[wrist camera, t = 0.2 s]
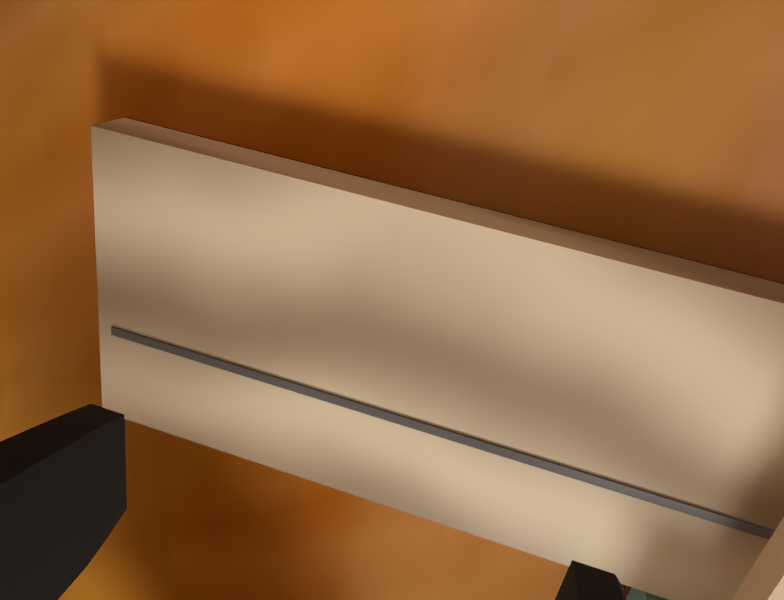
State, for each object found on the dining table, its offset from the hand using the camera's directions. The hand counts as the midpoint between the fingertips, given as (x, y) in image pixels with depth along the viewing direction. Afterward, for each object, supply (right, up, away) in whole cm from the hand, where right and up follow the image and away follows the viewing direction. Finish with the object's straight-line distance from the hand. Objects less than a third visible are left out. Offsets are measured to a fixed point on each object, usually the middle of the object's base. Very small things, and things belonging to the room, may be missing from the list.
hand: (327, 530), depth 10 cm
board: (+4, +1, +9) cm, 10 cm away
